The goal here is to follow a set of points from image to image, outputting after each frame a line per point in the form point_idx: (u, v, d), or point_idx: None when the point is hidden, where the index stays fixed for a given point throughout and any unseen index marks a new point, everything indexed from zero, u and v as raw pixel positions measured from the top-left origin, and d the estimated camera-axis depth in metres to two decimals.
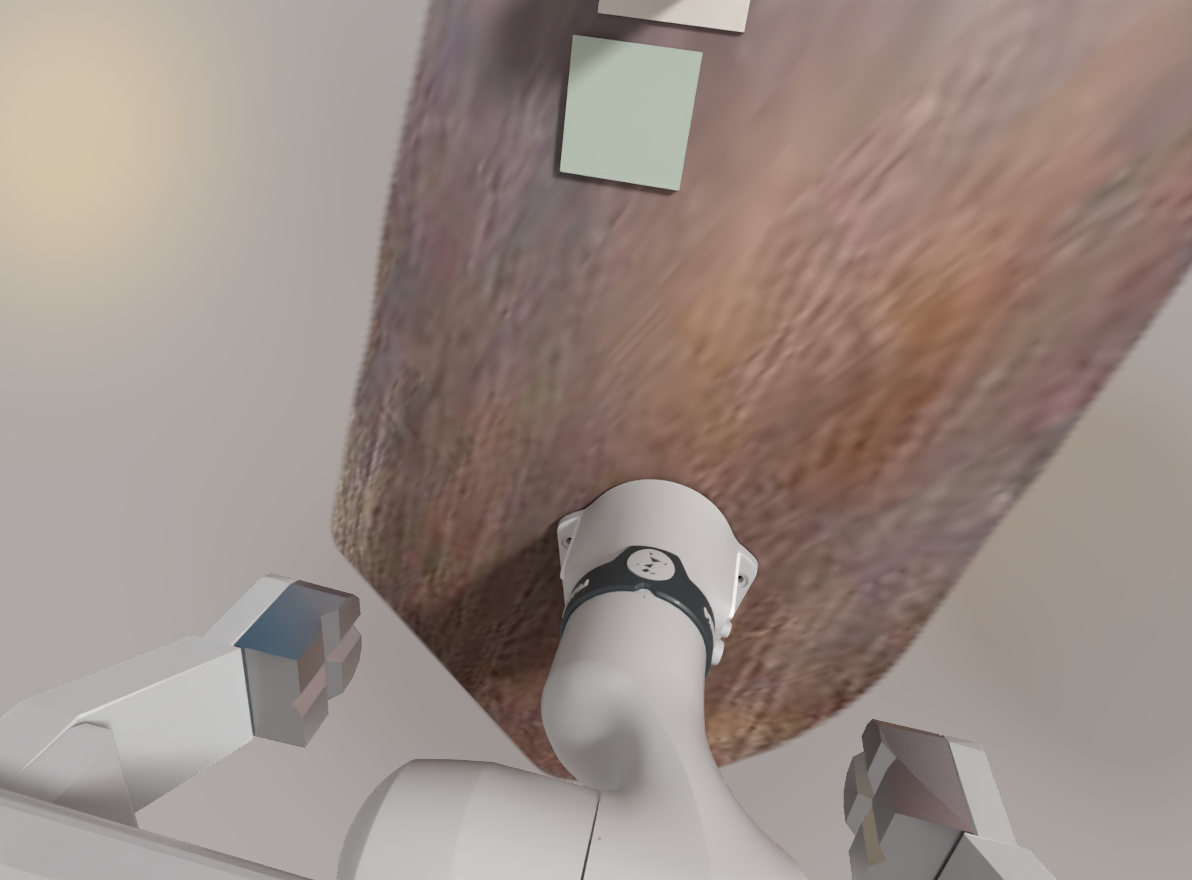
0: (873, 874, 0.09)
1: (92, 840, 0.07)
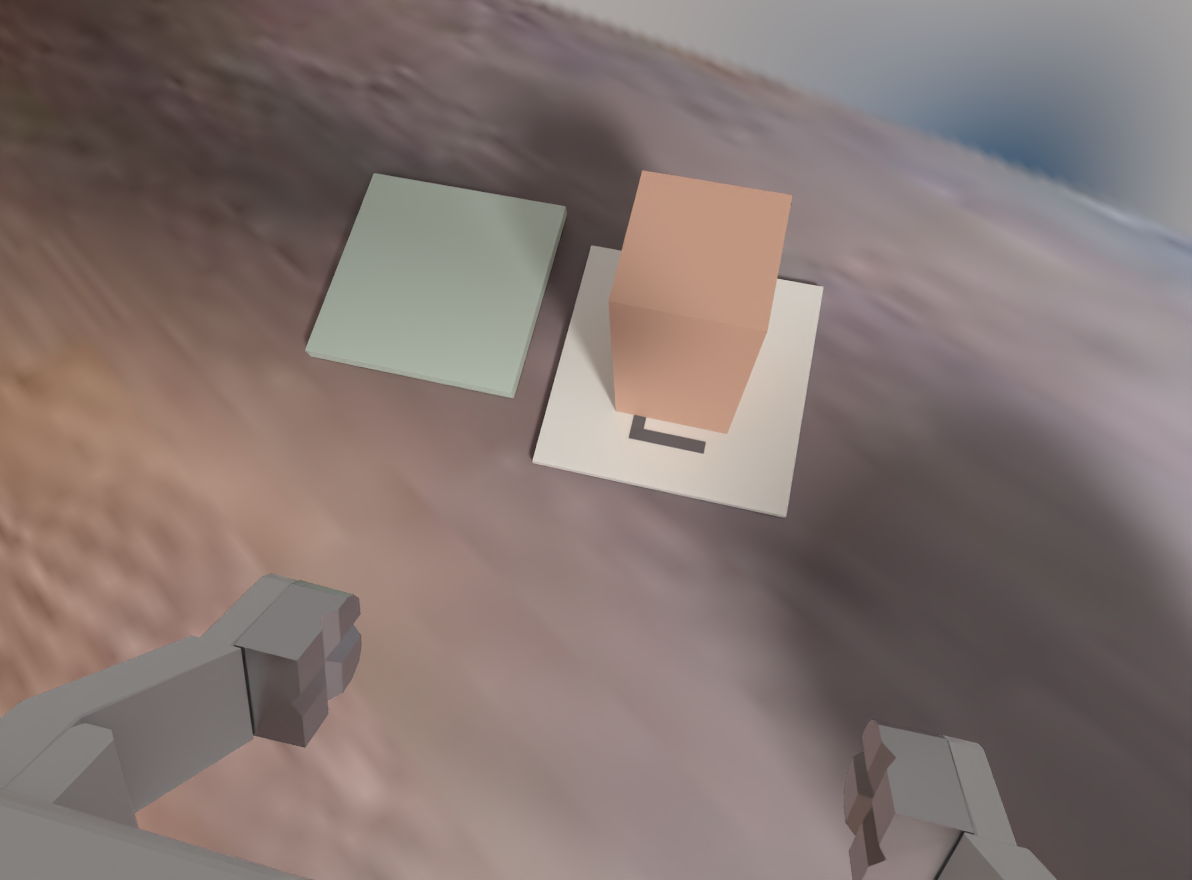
0: (873, 875, 0.09)
1: (92, 840, 0.07)
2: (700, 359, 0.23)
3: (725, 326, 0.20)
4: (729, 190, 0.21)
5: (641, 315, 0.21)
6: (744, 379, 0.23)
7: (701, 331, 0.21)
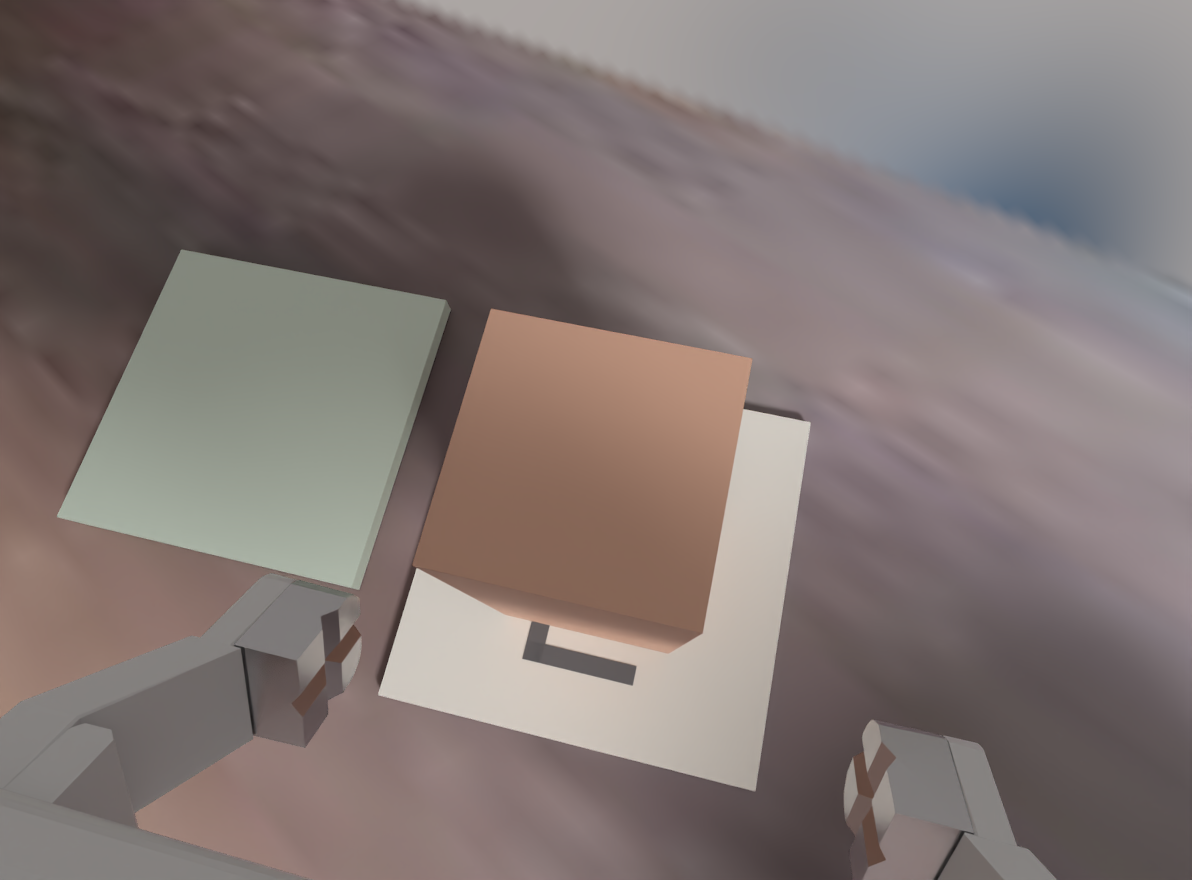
0: (873, 875, 0.09)
1: (92, 840, 0.07)
2: (600, 621, 0.13)
3: (625, 616, 0.11)
4: (641, 348, 0.12)
5: (477, 583, 0.11)
6: (678, 642, 0.14)
7: (587, 610, 0.12)
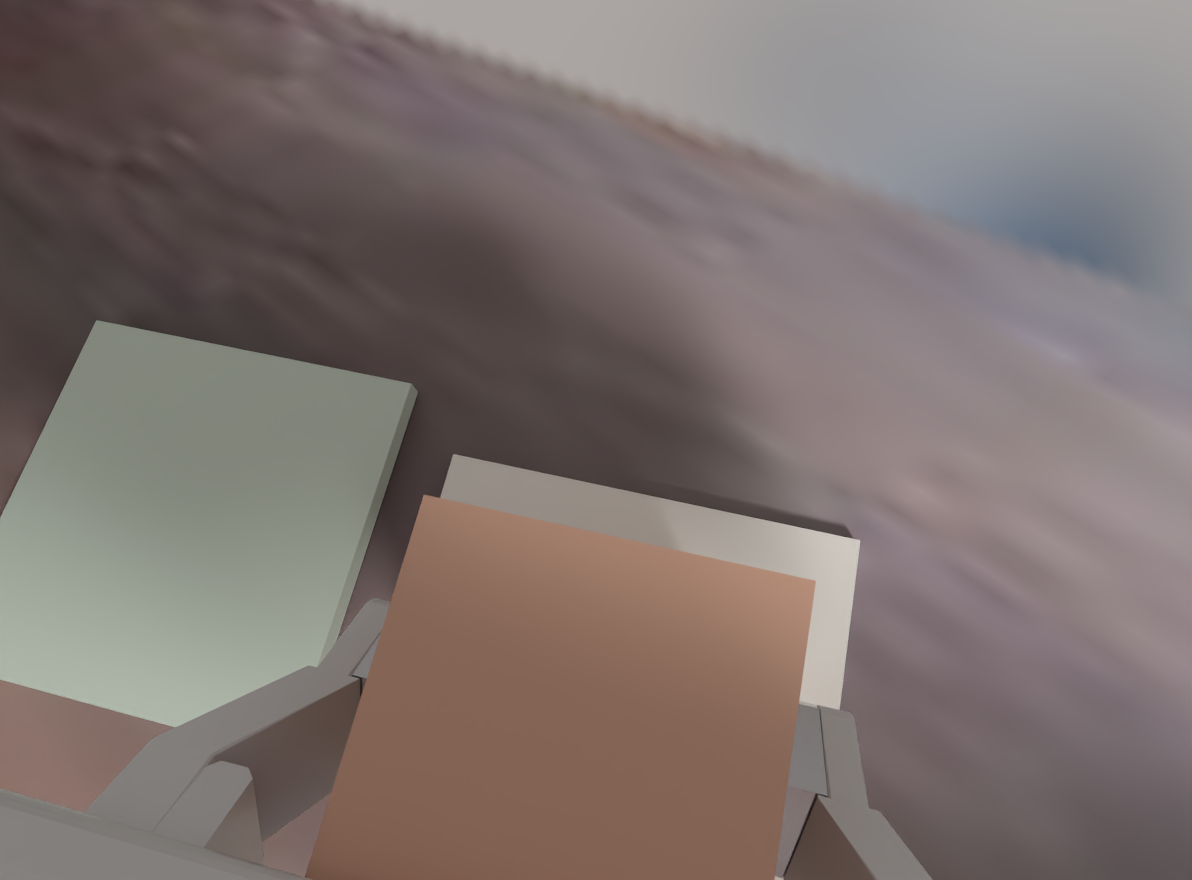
0: None
1: (92, 840, 0.07)
2: None
3: None
4: (647, 561, 0.08)
5: None
6: None
7: None
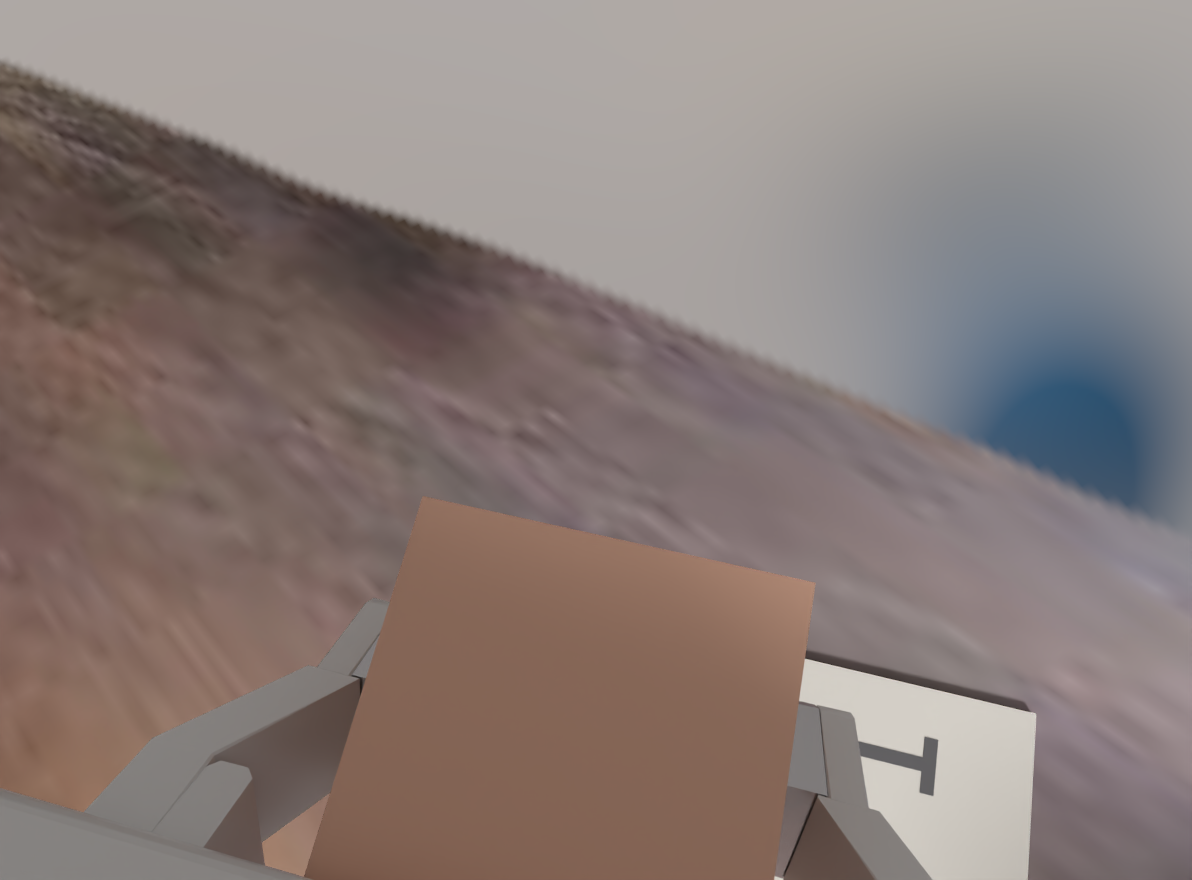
0: None
1: (92, 840, 0.07)
2: None
3: None
4: (646, 562, 0.08)
5: None
6: None
7: None
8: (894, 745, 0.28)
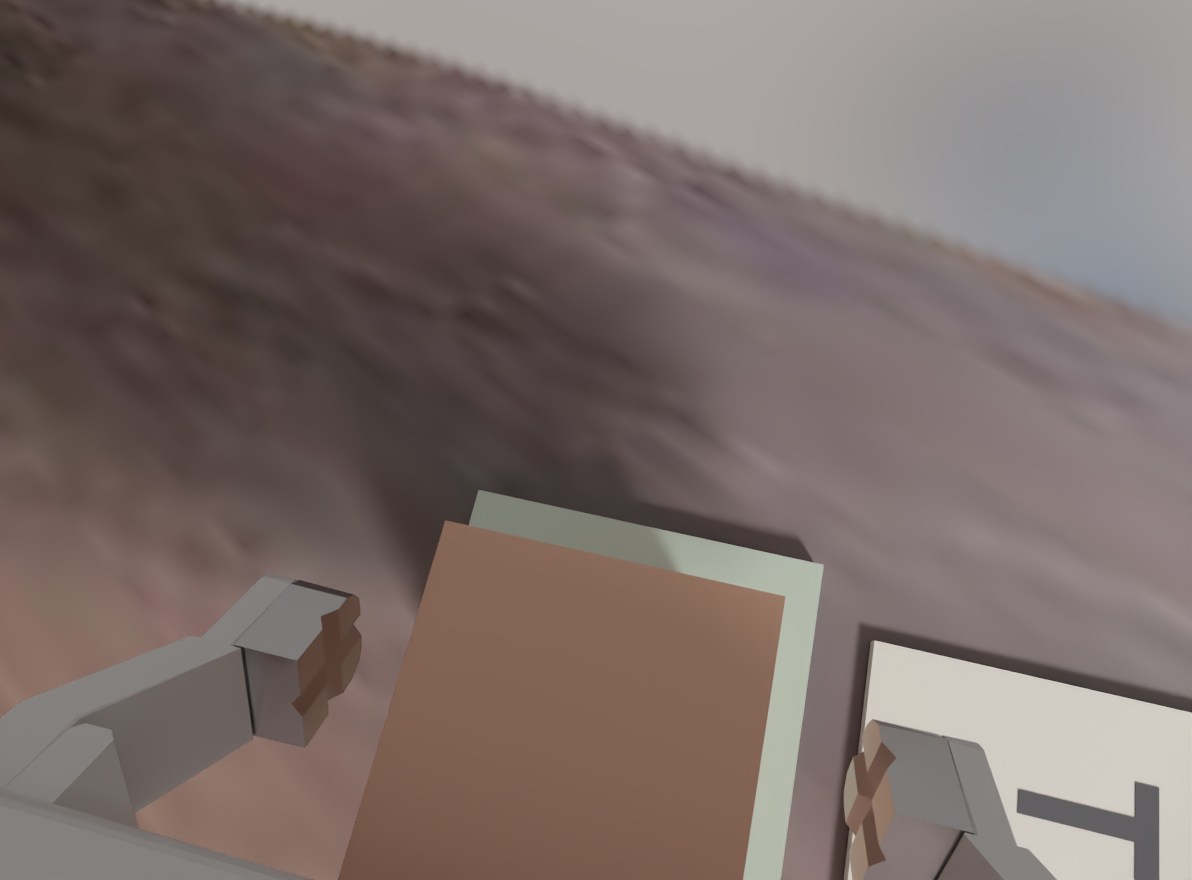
0: (873, 875, 0.09)
1: (92, 840, 0.07)
2: None
3: None
4: (639, 578, 0.09)
5: None
6: None
7: None
8: (1084, 796, 0.16)
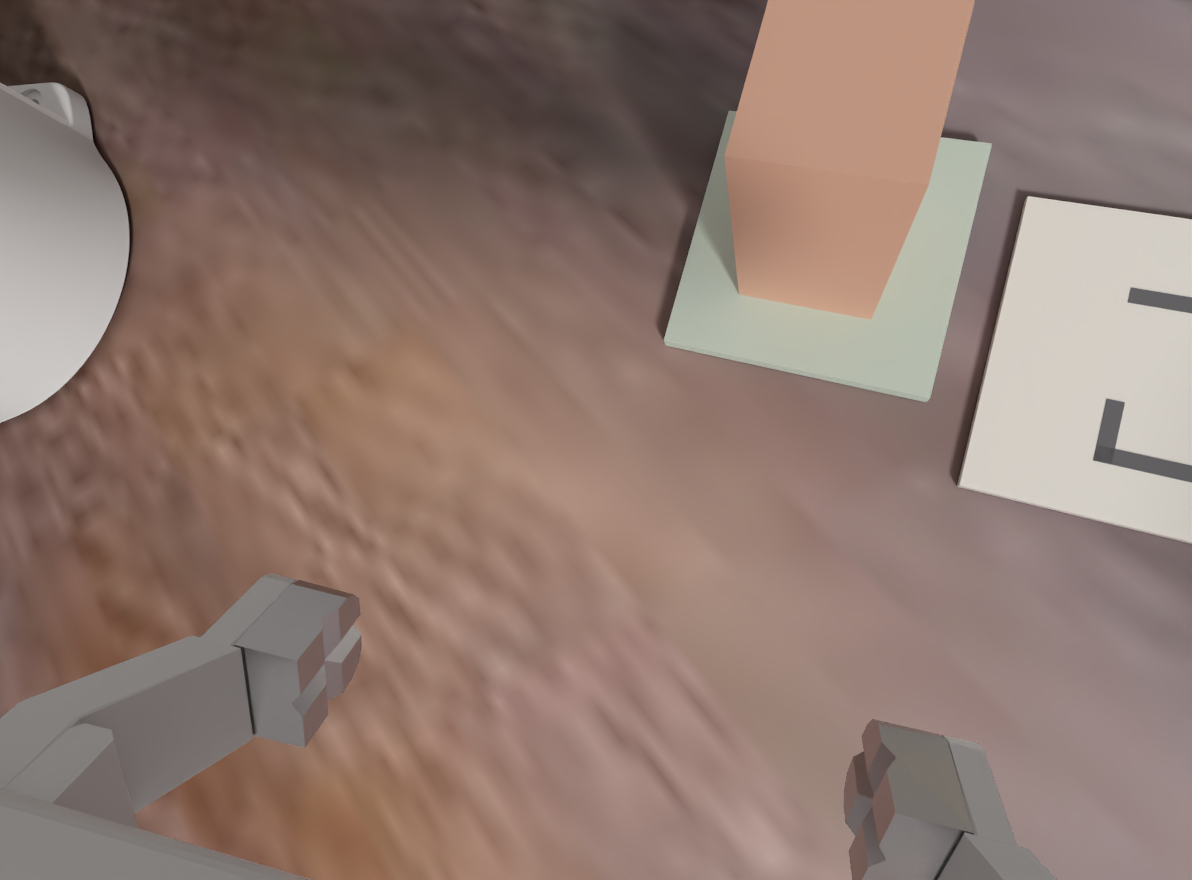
0: (873, 874, 0.09)
1: (92, 840, 0.07)
2: (840, 226, 0.19)
3: (873, 181, 0.16)
4: None
5: (765, 172, 0.17)
6: (895, 251, 0.19)
7: (840, 190, 0.17)
8: (1184, 290, 0.23)
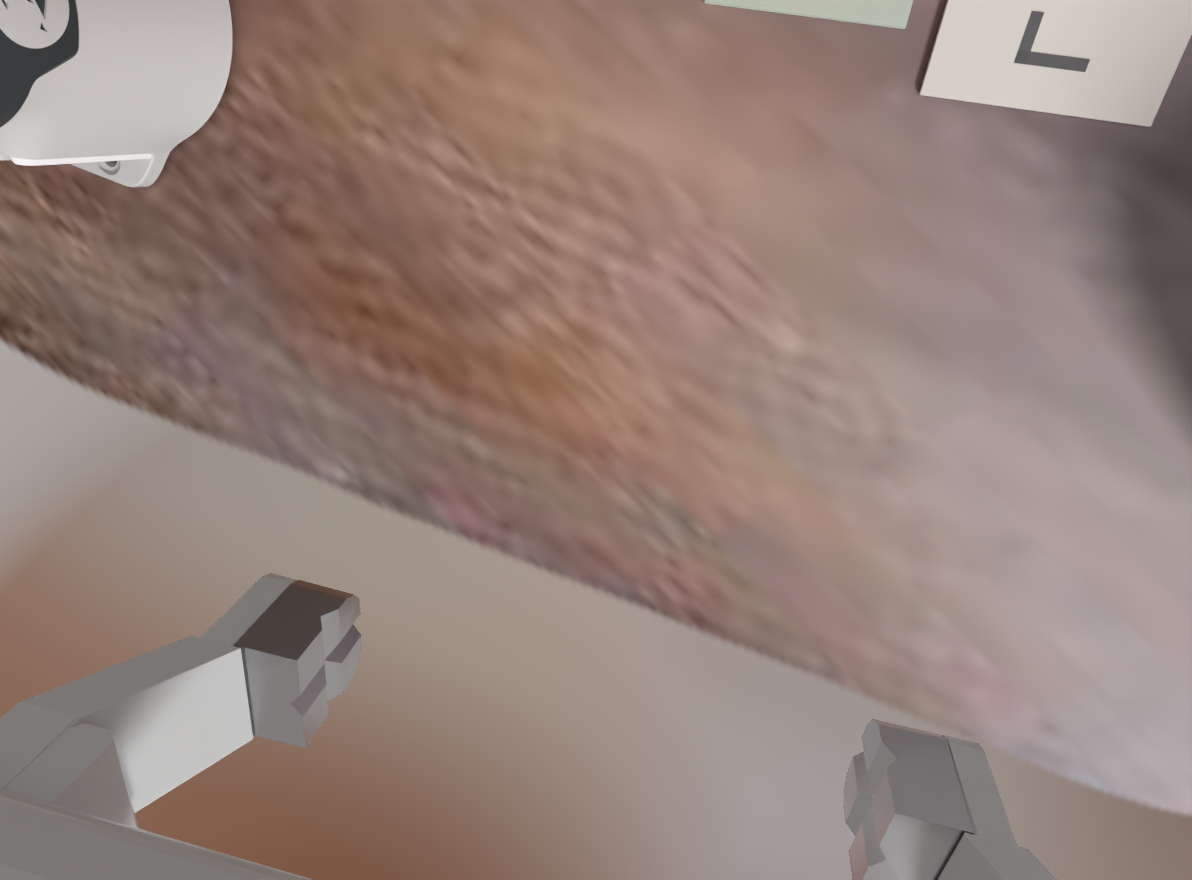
0: (873, 875, 0.09)
1: (92, 840, 0.07)
2: None
3: None
4: None
5: None
6: None
7: None
8: None
